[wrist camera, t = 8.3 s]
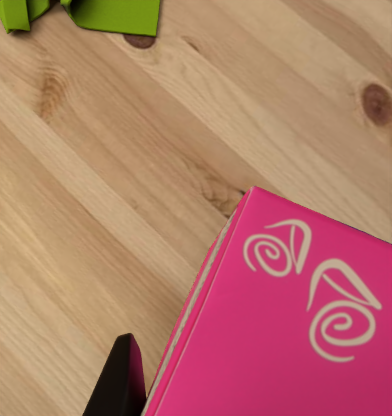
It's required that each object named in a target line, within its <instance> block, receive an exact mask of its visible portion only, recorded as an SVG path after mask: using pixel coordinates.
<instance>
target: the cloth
mask: <svg viewBox="0 0 392 416" xmlns="http://www.w3.org/2000/svg"><path fill="white" fill-rule="evenodd" d="M60 3H61V6H63V7H65V9H66V11H67V13H68V15H69V17H70V18H71V19H72V20H73V21H74V23H75V24H76V25H77V26H80V27H83V28H87V29H93V30H100V31H108V32H117V33H126V34H134V35H146V36H154V37H156V30H157V23H158V16H159V6H160V0H60ZM48 8H49V0H0V18H1V21H2V23H3V25H4V28H5V30H6V32H7V34H8V33H10V32H13V31H15V30H18V29H21V30H28V31H30V27H29V22H31V21H33V20H34V19H36V18H38V17H39V16H41V15H42V14H43V13H44V12H45V11H46V10H47V9H48Z"/></svg>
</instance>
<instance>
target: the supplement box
mask: <svg viewBox="0 0 392 416" xmlns="http://www.w3.org/2000/svg"><path fill="white" fill-rule="evenodd" d="M140 416H392V244H390V243H388V242H386V241H383V240H381V239H379V238H376V237H374V236H372V235H370V234H368V233H365V232H363V231H361V230H358V229H356V228H353V227H351V226H349V225H346V224H344V223H341V222H339V221H336V220H334V219H331V218H329V217H327V216H325V215H322V214H320V213H318V212H315V211H313V210H311V209H308V208H306V207H303V206H301V205H299V204H296V203H294V202H292V201H289V200H287V199H285V198H282V197H280V196H278V195H275V194H273V193H271V192H269V191H267V190H264V189H262V188H260V187H257V186H253V187H251V188H250V189H249V190H248V191H247V193H246V194H245V195H244V197H243V198H242V199H241V201H240V202H239V204H238V205H237V207H236V208H235V210H234V211H233V213H232V215H231V216H230V218H229V220H228V221H227V223H226V224H225V226H224V227H223V228H222V230H221V232H220V234H219V235H218V237H217V238H216V240H215V241H214V243H213V245H212V246H211V248H210V249H209V251H208V253H207V256H206V258H205V260H204V262H203V264H202V267H201V269H200V271H199V273H198V275H197V278H196V280H195V282H194V284H193V286H192V289H191V291H190V293H189V295H188V297H187V300H186V302H185V304H184V307H183V309H182V311H181V313H180V316H179V318H178V320H177V323H176V325H175V327H174V329H173V332H172V334H171V336H170V339H169V341H168V344H167V346H166V348H165V352H164V354H163V357H162V360H161V362H160V365H159V368H158V370H157V373H156V376H155V378H154V381H153V384H152V386H151V389H150V391H149V394H148V397H147V399H146V402H145V404H144V406H143V409H142V412H141V415H140Z"/></svg>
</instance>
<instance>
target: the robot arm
mask: <svg viewBox="0 0 392 416" xmlns="http://www.w3.org/2000/svg"><path fill="white" fill-rule="evenodd" d="M145 402H146V392H145V383H144V375H143V367H142V358H141V352H140V349H139V346H138V344H137V342H136V340H135V338H134V336H133V334H132V333H127V334H124V335H120V336H118V337H117V339H116V341H115V343H114V345H113V347H112V350H111V352H110V354H109V356H108V359H107V361H106V363H105V366H104V368H103V370H102V372H101V375H100V377H99V379H98V381H97V384H96V386H95V388H94V390H93V393H92V395H91V397H90V400H89V402H88V404H87V406H86V409H85V411H84V413H83V415H82V416H140V415H141V412H142V409H143V406H144V404H145Z"/></svg>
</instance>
